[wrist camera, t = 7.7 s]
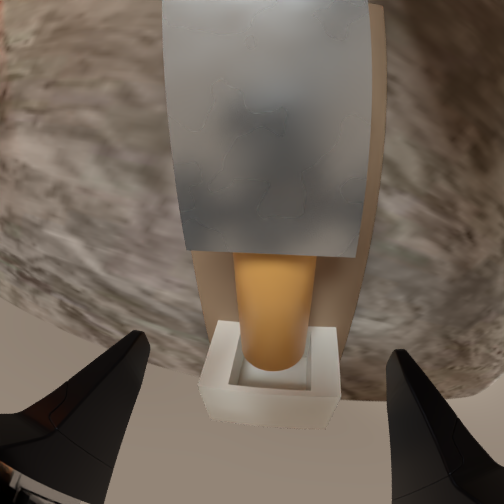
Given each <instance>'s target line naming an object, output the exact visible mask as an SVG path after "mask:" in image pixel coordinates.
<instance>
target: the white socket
mask: <svg viewBox="0 0 504 504" xmlns="http://www.w3.org/2000/svg"><path fill="white" fill-rule="evenodd" d="M197 386H198V389H199V391H200V394H201V397H202V399H203V402H204V404H205V407H206V409H207V411H208V414H209V417H210V419H211V420H216V421H221V422H228V423H235V424H243V425H252V426H262V427H275V428H294V429H326V427H327V425H328V423H329V421H330V419H331V417H332V415H333V413H334V411H335V409H336V407H337V405H338V403H339V401H340V398H341V383H340V368H339V354H338V342H337V331H336V327H313V326H308V331H307V337H306V344H305V350H304V354H303V356H302V358H301V359H300V361H299V362H298V363H296V364H295V365H294V366H292V367H290V368H288V369H285V370H282V371H265V370H261V369H258V368H256V367H254V366H253V365H251V364H250V363H249V362H248V361H247V360H246V358H245V357H244V355H243V351H242V344H241V334H240V324H239V322H233V321H222V320H218V322H217V325H216V328H215V332H214V335H213V338H212V341H211V344H210V347H209V350H208V354H207V357H206V360H205V363H204V366H203V369H202V372H201V376H200V379H199V382H198V385H197Z"/></svg>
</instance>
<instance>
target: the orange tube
mask: <svg viewBox="0 0 504 504" xmlns="http://www.w3.org/2000/svg"><path fill="white" fill-rule="evenodd" d="M316 258H317V256H303V255H281V254H258V253H235V252H233V260H234V271H235V282H236V293H237V303H238V314H239V324H240V334H241V344H242V351H243V355H244V357H245V358H246V360H247V361H248V362H249V363H250V364H251V365H253V366H254V367H256V368H258V369H261V370H265V371H282V370H285V369H288V368H290V367H292V366H294V365H295V364H296V363H298V362H299V361H300V359H301V358H302V356H303V354H304V350H305V344H306V337H307V331H308V324H309V317H310V309H311V302H312V294H313V285H314V277H315V268H316Z"/></svg>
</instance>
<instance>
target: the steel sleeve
mask: <svg viewBox="0 0 504 504" xmlns="http://www.w3.org/2000/svg"><path fill="white" fill-rule="evenodd" d="M162 32H163V57H164V75H165V89H166V101H167V113H168V123H169V133H170V142H171V150H172V159H173V167H174V174H175V182H176V189H177V195H178V202H179V209H180V215H181V221H182V227H183V233H184V239H185V245H186V250H191V251H213V252H235V253H258V254H281V255H303V256H326V257H349V258H355V256H356V251H357V245H358V239H359V233H360V227H361V220H362V213H363V206H364V198H365V189H366V181H367V171H368V160H369V148H370V133H371V111H372V51H371V32H370V18H369V7H368V0H162Z"/></svg>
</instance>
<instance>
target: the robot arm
mask: <svg viewBox="0 0 504 504" xmlns="http://www.w3.org/2000/svg"><path fill="white" fill-rule="evenodd" d="M149 353H150V344H149V342H148V340H147V337H146V335H145V333H144V332H143V331H138V330H133V331H132V332H130V333H129V334H128V335H126V336H125V337H124V338H122V339H121V340H120V341H118V342H117V343H116V344H115V345H113V346H112V347H111V348H109V349H108V350H107V351H105V352H104V353H103V354H101V355H100V356H99V357H98V358H96V359H95V360H94V361H93V362H91V363H90V364H89V365H87V366H86V367H85V368H83V369H82V370H81V371H79V372H78V373H77V374H76V375H74V376H73V377H72V378H71V379H69V380H68V381H66V382H65V383H64V384H63V385H61V386H60V387H59V388H57V389H56V390H55V391H53V392H52V393H50V394H49V395H47V396H46V397H44V398H43V399H41V400H40V401H38V402H36V403H35V404H33V405H32V406H30V407H28V408H27V409H25V410H23V411H21V412H18V413H14V414H0V504H80V502H81V501H84V502H87V503H90V504H104V501H105V497H106V493H107V490H108V486H109V483H110V479H111V476H112V473H113V468H114V465H115V462H116V459H117V455H118V452H119V449H120V446H121V443H122V440H123V437H124V434H125V431H126V428H127V425H128V422H129V419H130V416H131V413H132V410H133V407H134V404H135V402H136V399H137V396H138V393H139V391H140V388H141V384H142V381H143V377H144V373H145V369H146V365H147V361H148V357H149ZM386 382H387V413H388V421H389V433H390V448H391V468H392V504H504V467H503V466H501V465H499V464H497V463H496V462H495V461H494V460H493V459H492V458H491V457H490V456H489V454H488V453H487V452H486V451H485V450H484V449H483V448H482V447H481V445H480V444H479V443H478V442H477V441H476V440H475V438H473V436H472V435H471V434H470V433H469V431H468V430H467V429H466V427H465V426H464V425H463V423H462V422H461V420H460V419H459V418H458V417H457V415H456V414H455V412H454V411H453V410H452V408H451V407H450V406H449V404H448V403H447V402H446V400H445V399H444V398H443V396H442V395H441V394H440V392H439V391H438V390H437V389H436V387H435V386H434V385H433V383H432V382H431V381H430V380H429V378H428V377H427V376H426V374H425V373H424V372H423V371H422V369H421V368H420V367H419V366H418V364H417V363H416V362H415V361H414V359H413V358H412V357H411V356H410V355H409V353H408V352H407V351H406V350H405V349H395V350H394V351H393V352H392V354H391V356H390V358H389V360H388V362H387V365H386Z"/></svg>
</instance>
